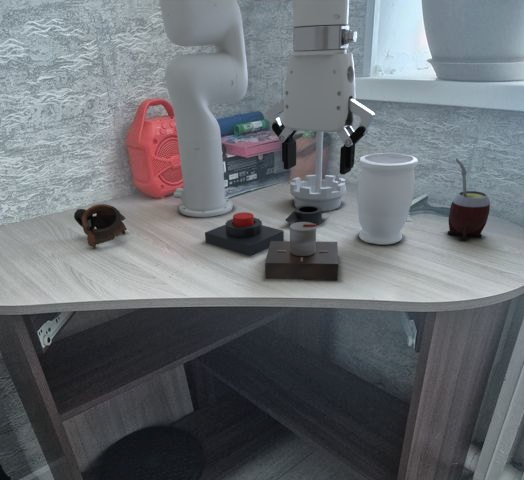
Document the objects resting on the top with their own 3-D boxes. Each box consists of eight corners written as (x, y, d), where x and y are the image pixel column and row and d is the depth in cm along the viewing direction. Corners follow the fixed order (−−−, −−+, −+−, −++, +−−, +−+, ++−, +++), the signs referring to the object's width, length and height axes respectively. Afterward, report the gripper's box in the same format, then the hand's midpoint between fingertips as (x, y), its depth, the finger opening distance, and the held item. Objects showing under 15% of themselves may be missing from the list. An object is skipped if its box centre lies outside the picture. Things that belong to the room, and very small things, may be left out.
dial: (289, 256, 81) (288, 228, 78) (290, 246, 85) (290, 219, 82) (315, 256, 80) (316, 228, 78) (315, 246, 84) (316, 219, 82)
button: (229, 225, 94) (228, 216, 93) (243, 219, 96) (242, 210, 95) (244, 229, 91) (243, 220, 90) (258, 223, 94) (257, 214, 93)
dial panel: (265, 279, 81) (264, 262, 79) (271, 256, 89) (270, 240, 87) (337, 280, 79) (338, 262, 78) (336, 257, 88) (337, 240, 86)
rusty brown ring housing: (140, 234, 103) (132, 207, 95) (118, 268, 99) (108, 242, 91) (90, 217, 104) (79, 188, 97) (66, 249, 100) (53, 221, 93)
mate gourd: (483, 231, 96) (501, 151, 88) (482, 245, 90) (501, 161, 82) (444, 227, 99) (458, 150, 91) (441, 240, 93) (455, 159, 85)
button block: (205, 243, 96) (203, 223, 94) (240, 229, 102) (239, 210, 100) (249, 257, 89) (248, 236, 87) (283, 241, 95) (283, 221, 93)
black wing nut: (284, 217, 108) (284, 204, 106) (329, 216, 107) (330, 203, 106) (285, 229, 101) (284, 215, 100) (332, 228, 101) (333, 214, 99)
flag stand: (294, 196, 122) (295, 57, 105) (346, 197, 119) (355, 55, 103) (286, 211, 111) (285, 60, 95) (343, 213, 109) (352, 58, 92)
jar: (408, 249, 90) (420, 165, 82) (352, 246, 92) (358, 164, 84) (406, 229, 99) (416, 152, 90) (355, 227, 100) (360, 151, 92)
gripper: (388, 39, 66) (377, 169, 75) (278, 43, 74) (280, 161, 83) (369, 40, 61) (360, 180, 70) (253, 45, 68) (258, 170, 78)
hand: (316, 170), depth 76 cm, fingers open, 9 cm apart
